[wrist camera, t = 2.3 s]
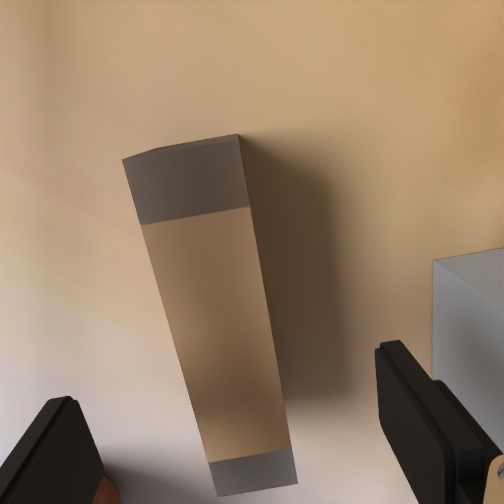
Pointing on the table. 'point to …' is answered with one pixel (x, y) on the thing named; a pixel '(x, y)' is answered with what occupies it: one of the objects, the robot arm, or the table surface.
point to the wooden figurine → (106, 493)
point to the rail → (216, 306)
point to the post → (471, 335)
